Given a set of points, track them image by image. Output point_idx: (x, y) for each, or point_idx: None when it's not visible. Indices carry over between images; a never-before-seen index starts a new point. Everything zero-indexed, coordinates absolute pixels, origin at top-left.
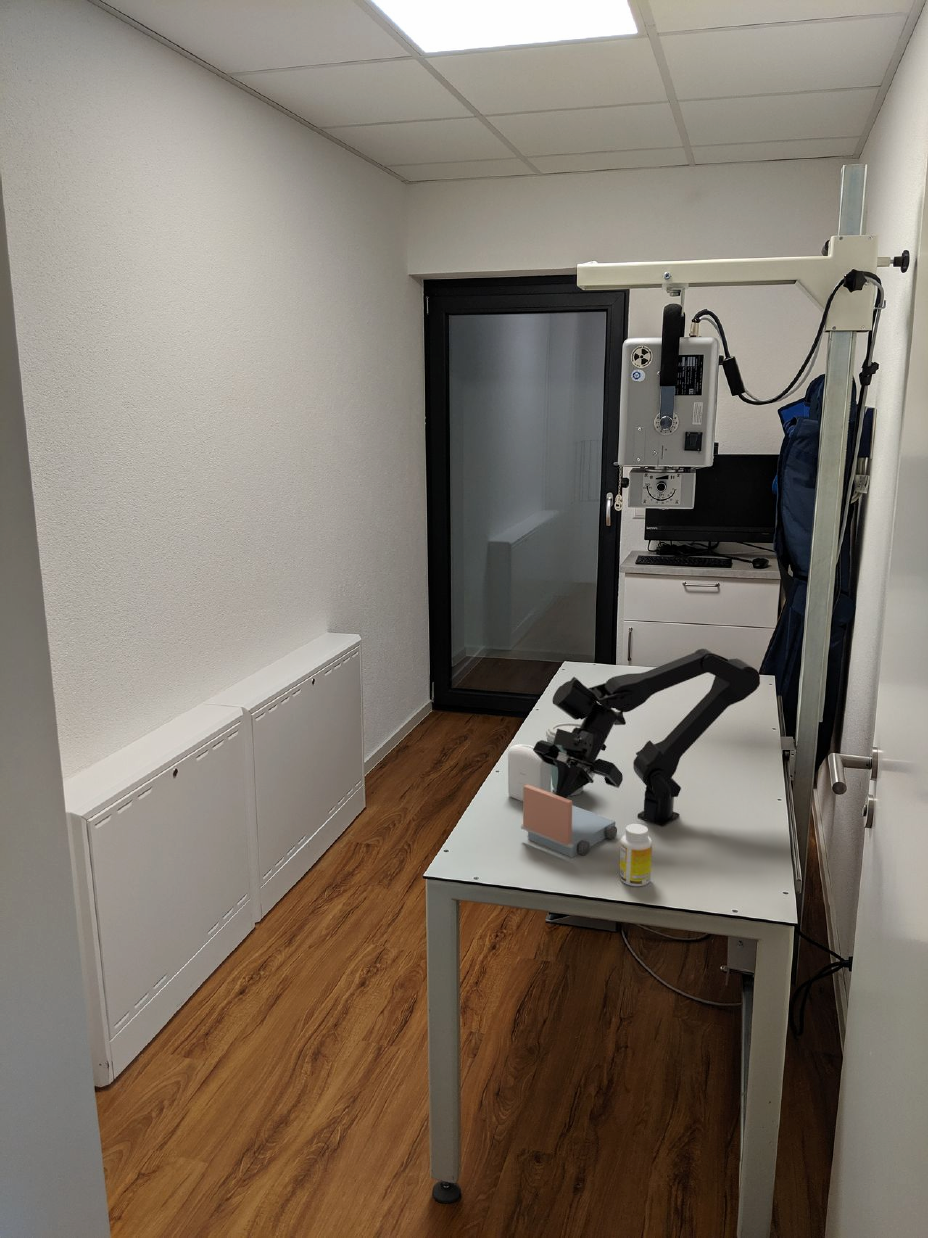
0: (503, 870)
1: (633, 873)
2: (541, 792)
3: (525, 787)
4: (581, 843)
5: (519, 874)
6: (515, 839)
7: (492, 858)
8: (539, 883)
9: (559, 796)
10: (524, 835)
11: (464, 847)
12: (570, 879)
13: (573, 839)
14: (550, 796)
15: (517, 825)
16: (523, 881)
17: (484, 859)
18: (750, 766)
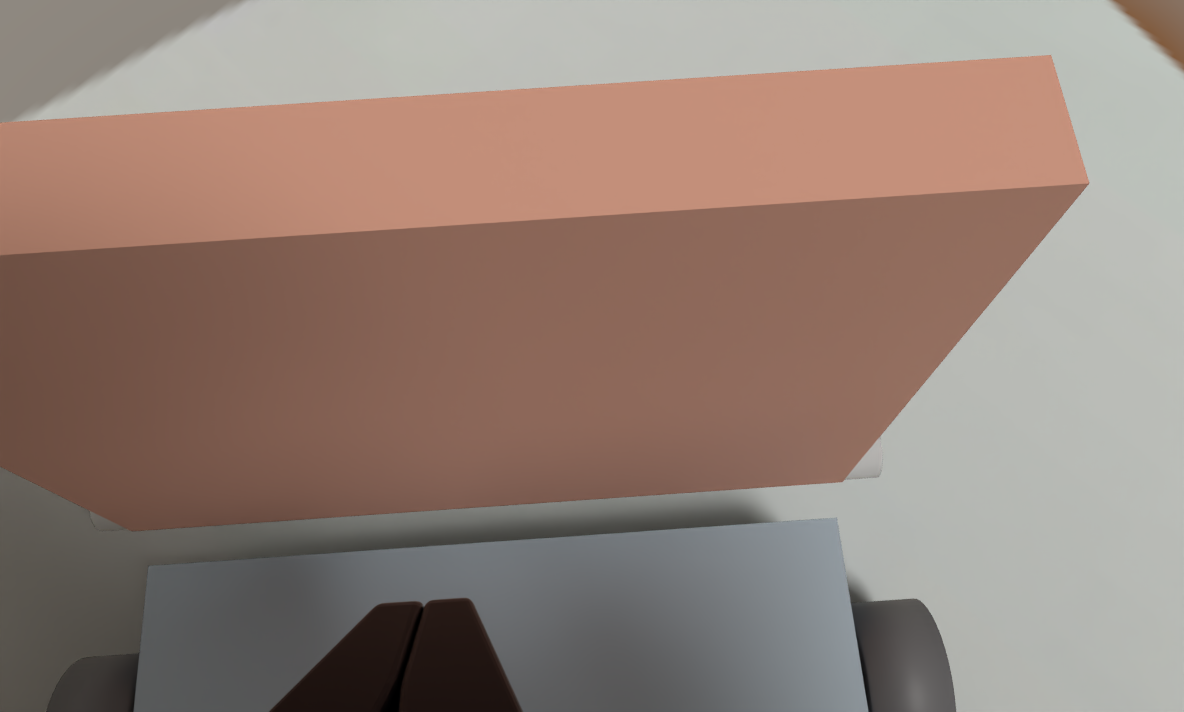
0: (524, 17)
1: None
2: (505, 103)
3: (981, 62)
4: (92, 692)
5: (388, 57)
6: (884, 447)
7: (731, 75)
8: (179, 71)
9: (25, 236)
10: (898, 582)
11: (1034, 38)
12: None
13: (221, 690)
14: (218, 116)
15: (1149, 706)
16: (295, 13)
17: (761, 25)
18: None
